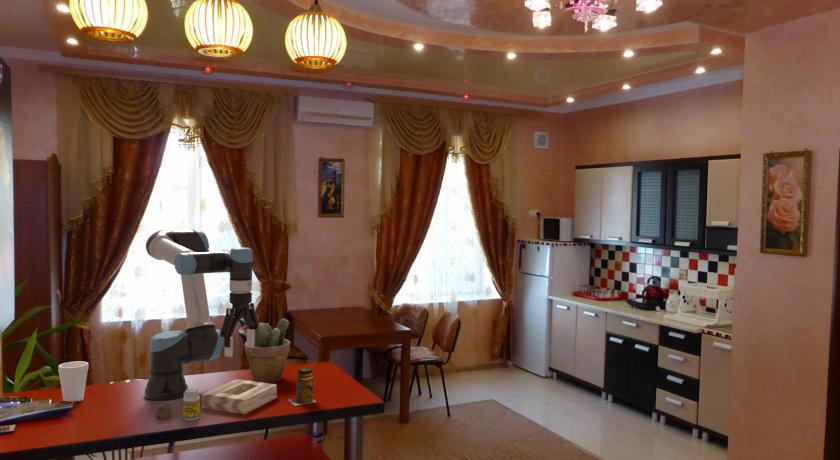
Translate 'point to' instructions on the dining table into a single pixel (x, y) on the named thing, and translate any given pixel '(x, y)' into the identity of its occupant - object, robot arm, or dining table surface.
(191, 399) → the supplement bottle
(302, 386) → the condiment
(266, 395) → the board
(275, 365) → the potted plant
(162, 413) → the walnut dowel short
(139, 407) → the dining table surface
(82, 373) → the foam cup
